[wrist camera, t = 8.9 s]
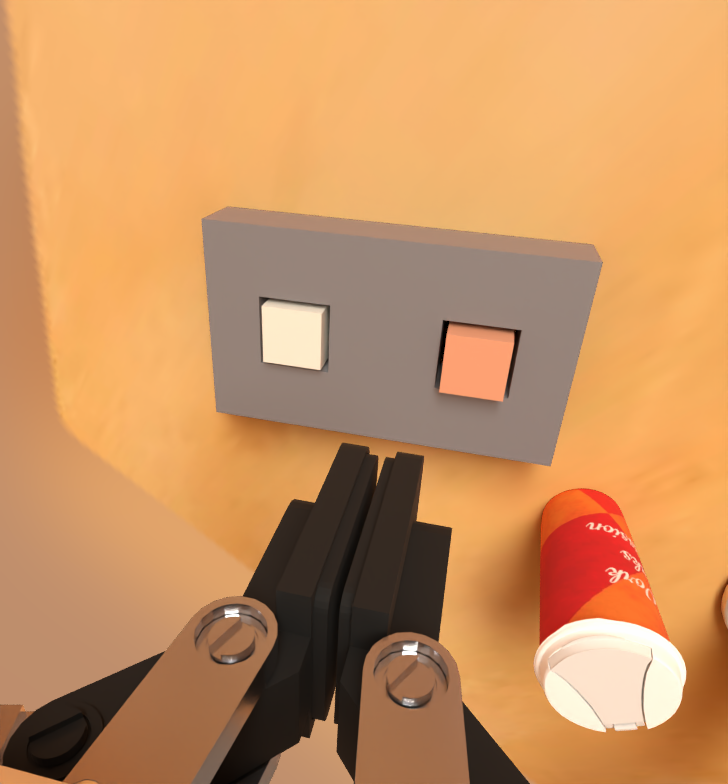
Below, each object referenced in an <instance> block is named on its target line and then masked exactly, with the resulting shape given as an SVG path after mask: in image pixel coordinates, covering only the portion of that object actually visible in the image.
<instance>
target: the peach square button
mask: <svg viewBox="0 0 728 784" xmlns="http://www.w3.org/2000/svg"><path fill="white" fill-rule="evenodd" d="M513 347H514V329H509V328H501V327H493V326H485V325H478V324H470V323H462V322H454V321H450V322H449V327H448V331H447V336H446V344H445V351H444V359H443V366H442V374H441V381H440V389H439V392H441V393H447V394H454V395H461V396H468V397H475V398H481V399H488V400H495V401H502V402H503V398H504V393H505V388H506V383H507V378H508V373H509V367H510V362H511V357H512V352H513Z"/></svg>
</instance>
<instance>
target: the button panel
mask: <svg viewBox="0 0 728 784" xmlns="http://www.w3.org/2000/svg"><path fill="white" fill-rule="evenodd" d="M202 231H203V244H204V257H205V270H206V283H207V295H208V308H209V321H210V334H211V347H212V360H213V373H214V386H215V398H216V411H217V412H221V413H227V414H233V415H239V416H245V417H251V418H257V419H264V420H270V421H276V422H282V423H288V424H294V425H300V426H306V427H313V428H319V429H325V430H331V431H337V432H343V433H349V434H356V435H362V436H368V437H374V438H380V439H386V440H392V441H399V442H405V443H411V444H417V445H423V446H429V447H435V448H442V449H448V450H454V451H460V452H466V453H472V454H478V455H485V456H491V457H497V458H503V459H509V460H515V461H521V462H528V463H534V464H540V465H546V466H551V463H552V459H553V455H554V451H555V447H556V443H557V439H558V435H559V431H560V427H561V424H562V420H563V416H564V412H565V408H566V404H567V400H568V396H569V392H570V388H571V384H572V381H573V377H574V373H575V369H576V365H577V361H578V357H579V353H580V349H581V345H582V341H583V338H584V334H585V330H586V326H587V322H588V318H589V314H590V310H591V306H592V302H593V298H594V295H595V291H596V287H597V283H598V279H599V275H600V271H601V267H602V263H603V262H602V260H601V258H600V256H599V254H598V252H597V251H596V249H595V247H594V245H591V244H581V243H572V242H562V241H553V240H543V239H534V238H524V237H514V236H505V235H495V234H486V233H476V232H466V231H457V230H447V229H438V228H428V227H418V226H409V225H399V224H390V223H380V222H370V221H361V220H351V219H342V218H332V217H323V216H313V215H303V214H294V213H284V212H275V211H265V210H255V209H246V208H236V207H226V208H224V209H222V210H219V211H217V212H215V213H213V214H211V215H209V216H207V217H205V218H202ZM270 298H275V299H283V300H291V301H299V302H306V303H314V304H322V305H330V330H329V357H328V359H327V360H326V362H325V364H324V365H323V367H322V368H321V370H316V369H309V368H302V367H296V366H289V365H282V364H275V363H268V362H263V335H262V305H263V304H264V303H265V302H266V301H267V300H268V299H270ZM445 320H446V321H454V322H462V323H470V324H478V325H485V326H493V327H501V328H509V329H516V333H515V338H514V347H513V352H512V357H511V362H510V367H509V373H508V378H507V383H506V388H505V393H504V398H503V402H502V401H495V400H488V399H481V398H475V397H468V396H461V395H454V394H447V393H441V392H439V389H440V381H441V374H442V366H443V363H440V358H441V351H442V343H443V335H444V328H445Z"/></svg>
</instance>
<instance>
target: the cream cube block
mask: <svg viewBox="0 0 728 784" xmlns="http://www.w3.org/2000/svg"><path fill="white" fill-rule="evenodd" d="M329 330H330V305H322V304H314V303H306V302H299V301H291V300H283V299H275V298H270V299H268V300H267V301H266V302H265V303H264V304H263V305H262V335H263V362H268V363H275V364H282V365H289V366H296V367H302V368H309V369H316V370H321V368H322V367H323V365H324V364H325V362H326V360H327V359H328V357H329Z"/></svg>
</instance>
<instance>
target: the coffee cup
mask: <svg viewBox="0 0 728 784" xmlns="http://www.w3.org/2000/svg"><path fill="white" fill-rule="evenodd" d="M534 672H535V675H536V678H537V680H538V682H539V683H540V685H541V687H542V688H543V689H544V692H545V695H546V697H547V699H548V701H549V702H550V704H551V705H552V706H553V707H554V709H555V710H556V711H557V712H559V713H560V714H561V715H562V716H563V717H565V718H567V719H568V720H570V721H572V722H574V723H576V724H578V725H580V726H583V727H585V728H588V729H592V730H596V731H602V732H606V728H615V731H625V730H637V726H645V723H644V722H646V725H647V728H648V729H650V728H653V727H656V726H658V725H660V724H662V723H664V722H665V721H666V720H668V719H669V718H670V717H671V716H672V715H673V714H674V713H675V712H676V710H677V709H678V707H679V705H680V702H681V699H682V691H683V686H684V683H685V680H686V668H685V663H684V661H683V659H682V656H681V654H680V653H679V652H678V650H677V649H676V648H675V647H674V646H673V645H672V644H671V643H670V640H669V637H668V635H667V632H666V629H665V627H664V624H663V621H662V618H661V616H660V613H659V610H658V607H657V605H656V602H655V599H654V596H653V594H652V591H651V588H650V585H649V583H648V580H647V577H646V574H645V572H644V569H643V566H642V564H641V561H640V558H639V556H638V553H637V550H636V547H635V545H634V542H633V540H632V537H631V534H630V532H629V529H628V526H627V524H626V521H625V519H624V516H623V514H622V512H621V510H620V508H619V507H618V505H617V504H616V502H615V501H614V500H613V499H612V498H610V497H609V496H607V495H606V494H604V493H602V492H599V491H596V490H591V489H572V490H568V491H565V492H562V493H560V494H558V495H556V496H555V497H553V498H552V499H551V500H550V501H549V502H548V503H547V505H546V506H545V508H544V511H543V514H542V523H541V556H540V646H539V648H538V649H537V652H536V654H535V658H534ZM636 724H637V725H636ZM613 725H614V726H613ZM605 727H606V728H605Z"/></svg>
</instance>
